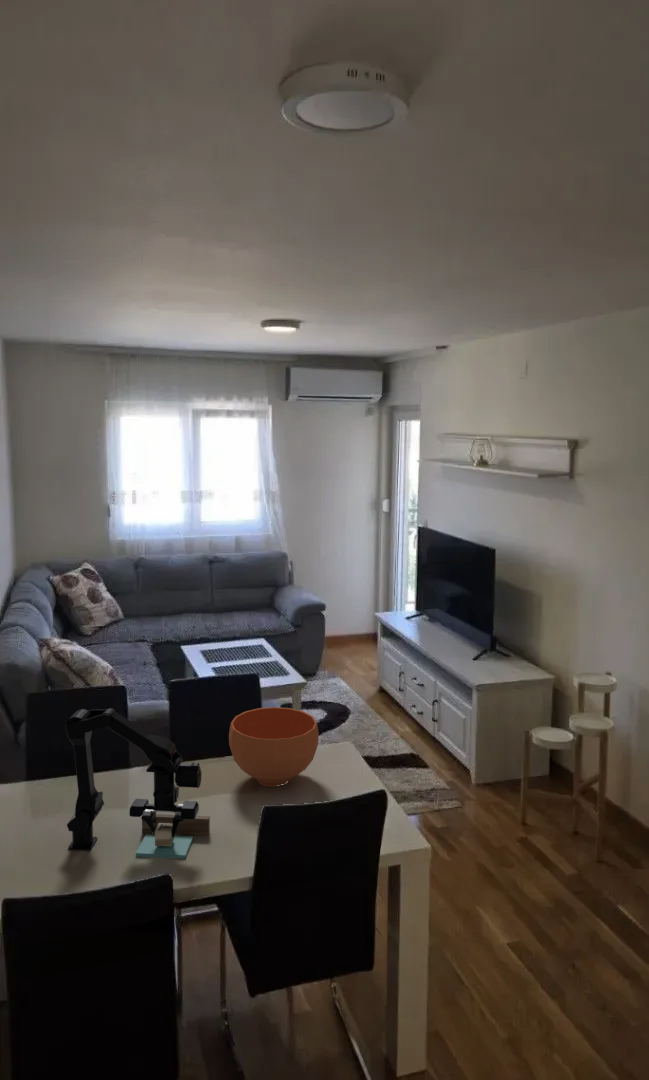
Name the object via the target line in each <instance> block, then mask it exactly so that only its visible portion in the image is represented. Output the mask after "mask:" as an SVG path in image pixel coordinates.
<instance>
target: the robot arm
mask: <svg viewBox="0 0 649 1080" xmlns="http://www.w3.org/2000/svg"><path fill="white" fill-rule="evenodd" d="M101 728H107V729H109V730H110V731H112V732H113V733H115V734H117V735H119V736H120V737H121V738H123V739H125V740H126V741H128V742H130V744H132V745H135V746H136V747H137V748H138V749H140V750H141V752H142V753H143V754H144V755H145V757H146V758H147V759H148V760H149V762H151V763H150V764H149V765H148V766H147V768H146V770H145V771H146V772H147V773H153V792H152V797H153V802H154V803H149V798H136V799H134V800H133V802H132V804H130V807H129V817H132V818H133V817H134V818H140V819H141V821H142V820H145V821H146V823H147V824H148V826H149V827H150V829H151V831H152V832H151V833H152V835H154V836H155V830H156V828H157V823H156V814H157V812H158V813H159V812H160V813H174V815H175V816H174V818H173V826H172V837H173V838H174V837H175V836H176V834H177V833H176V831H177V828H178V824H179V822H180V821H183V820H184V819H195V817H196V816H198V812H199V809H200V808H199V807H200V806H199V805H200V804H199V803H198V801H196V800H184V802H183V804H182V803H181V804H176V803H177V801H178V799H179V795H180V794H179V793H180V791H179V790H180V788H196V789H199V788H200V787H201V783H202V774H203V773H202V769H201V766H200V763H199V762H192V763H191V762H183V761H184V758H183V757H182V755H181V754H180V753H179V752H178V750H177V749H176V744H175V743H174V742H173V741H172V740H170V739H168V738H165V737H164V736H160V735H154V734H151V733H149V732H148V731H147V730H145V729H143V728H142V727H140V726H139V725H137V724H136V723H134V722H133V721H131V720H129V719H128V718H127V717H124V716H123V715H121V714H120V713H119V712H117V711H116V710H115V708H106V709H105V708H104V709H98V708H96V709H90V710H87V709H84V708H82V709H78V710H77V711H75V712H74V713H73V714H72V715H71V717H69V718H68V720H67V721H66V723H65V731H66V735H67V739H68V740H69V742H70V743H71V744H72V746H73V754H74V762H75V763H74V764H75V771H76V772H75V774H76V782H77V783H76V784H77V791H78V793H77V798H76V802H75V809H74V810H75V811H74V814H73V816H72V817H71V818H70V819H69V821H68V823H67V824H66V826H67V829H68V831H69V832H71V836H72V837H71V838H72V840H71V842H70V844H69V845H68V847H67V848H68V850H76V851H79V850H81V851H91V850H92V848H93V846H94V845H95V844H96V842H97V840H98V837H97V836H94V827H93V826H94V825H93V823H94V821H95V820H96V818H97V817H98V815H99V814H100V812H101V811H102V809H103V806H104V805H105V801H104V799H103V796H104V793H103V791H98V790H97V789H96V786H95V777H94V767H93V758H92V748H91V746H92V745H91V738H92V734H93V731H95V730H98V729H101ZM172 760H173V762H172Z"/></svg>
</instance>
